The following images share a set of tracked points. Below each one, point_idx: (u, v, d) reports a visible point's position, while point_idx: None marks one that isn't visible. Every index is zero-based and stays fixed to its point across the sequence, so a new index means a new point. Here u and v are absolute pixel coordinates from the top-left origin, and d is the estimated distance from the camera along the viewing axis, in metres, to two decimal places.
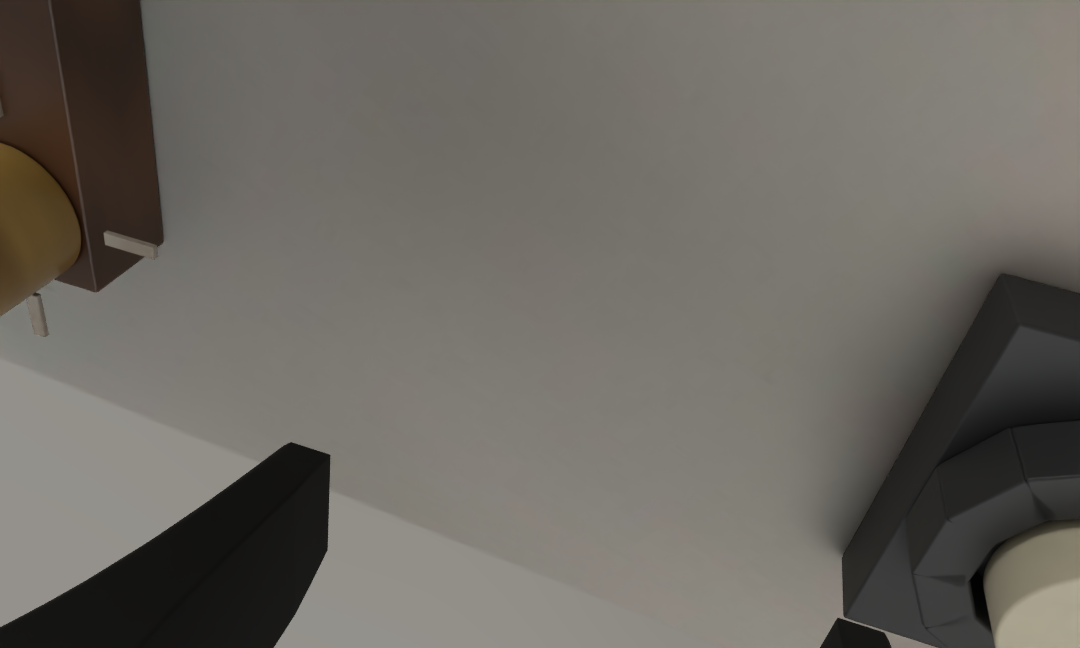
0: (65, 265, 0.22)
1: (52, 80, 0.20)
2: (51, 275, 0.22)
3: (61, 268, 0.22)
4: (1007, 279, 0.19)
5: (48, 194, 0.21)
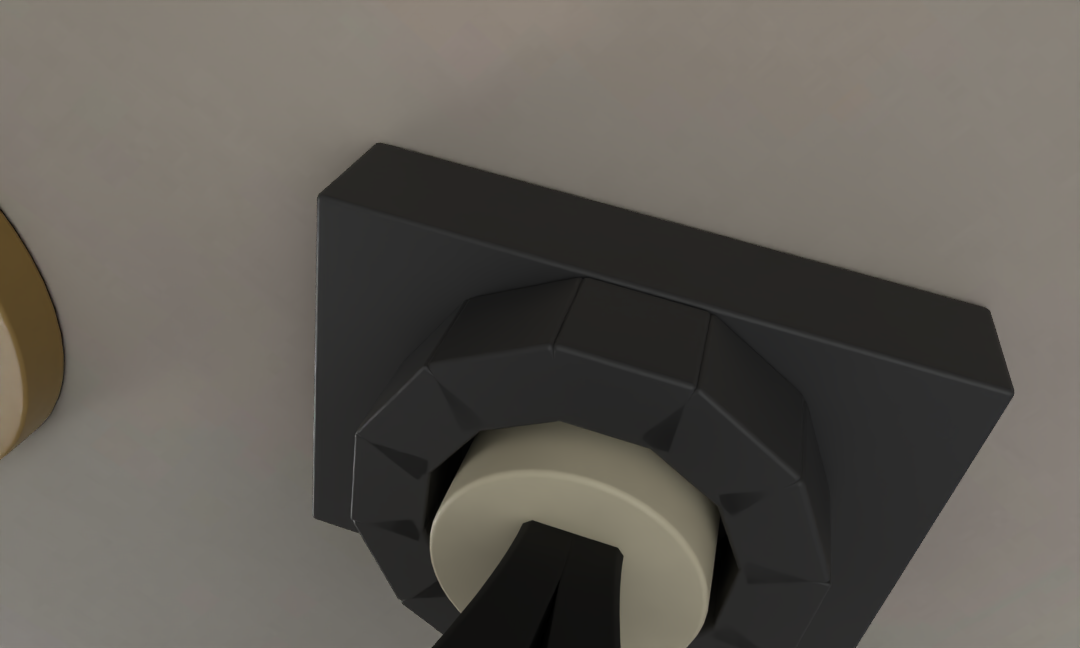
0: None
1: None
2: None
3: None
4: None
5: None
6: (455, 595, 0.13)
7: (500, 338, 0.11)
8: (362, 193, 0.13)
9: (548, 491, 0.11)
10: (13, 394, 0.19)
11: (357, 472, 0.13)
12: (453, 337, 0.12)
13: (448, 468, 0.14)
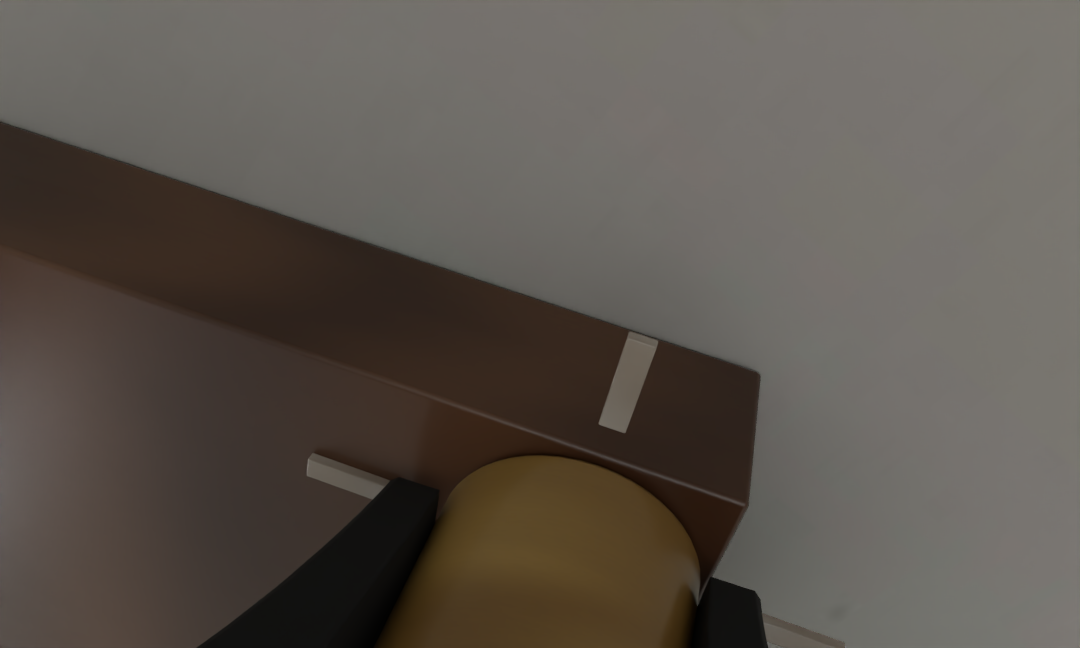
0: (651, 523, 0.11)
1: (327, 376, 0.12)
2: (645, 553, 0.11)
3: (650, 532, 0.11)
4: None
5: (502, 479, 0.11)
6: None
7: None
8: None
9: None
10: None
11: None
12: None
13: None
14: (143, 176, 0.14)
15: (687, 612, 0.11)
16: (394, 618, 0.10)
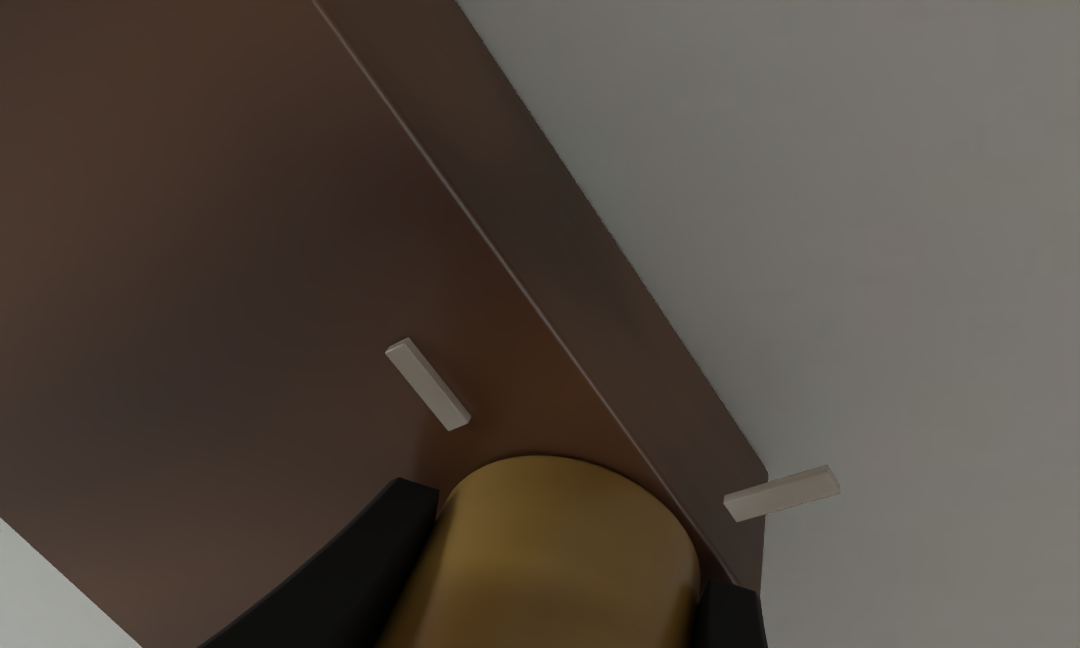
0: (653, 526, 0.11)
1: (508, 298, 0.10)
2: (648, 556, 0.11)
3: (653, 535, 0.11)
4: None
5: (506, 478, 0.11)
6: None
7: None
8: None
9: None
10: None
11: None
12: None
13: None
14: None
15: (688, 615, 0.11)
16: (396, 616, 0.10)
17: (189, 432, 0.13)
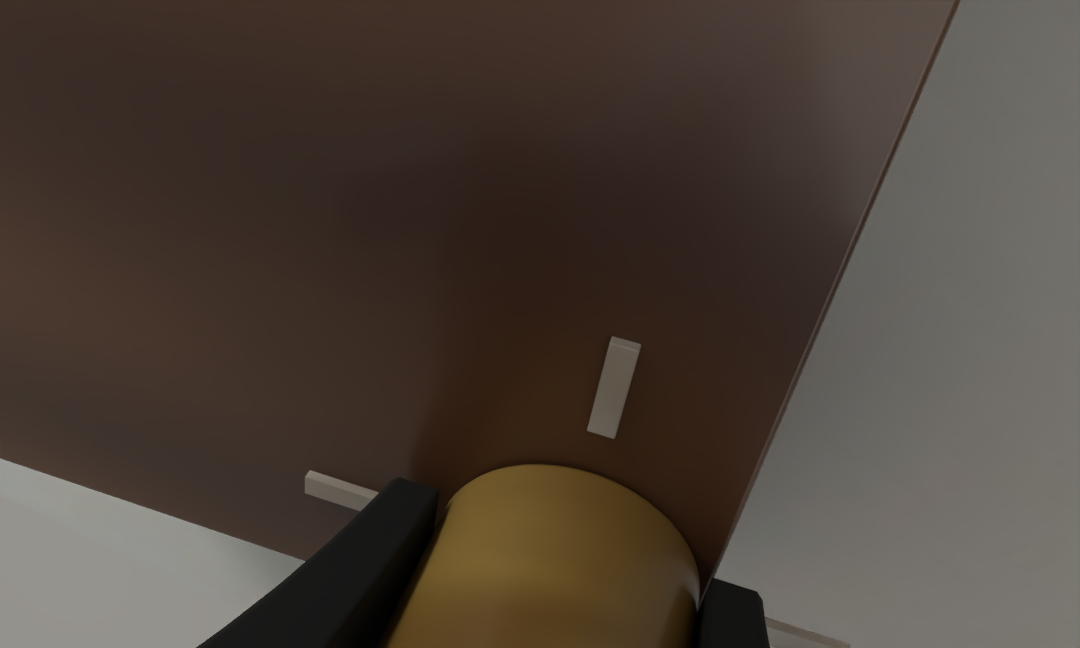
0: (649, 532, 0.11)
1: (769, 390, 0.10)
2: (643, 563, 0.11)
3: (648, 541, 0.11)
4: None
5: (500, 489, 0.11)
6: None
7: None
8: None
9: None
10: None
11: None
12: None
13: None
14: None
15: (686, 622, 0.11)
16: (390, 629, 0.10)
17: (286, 227, 0.11)
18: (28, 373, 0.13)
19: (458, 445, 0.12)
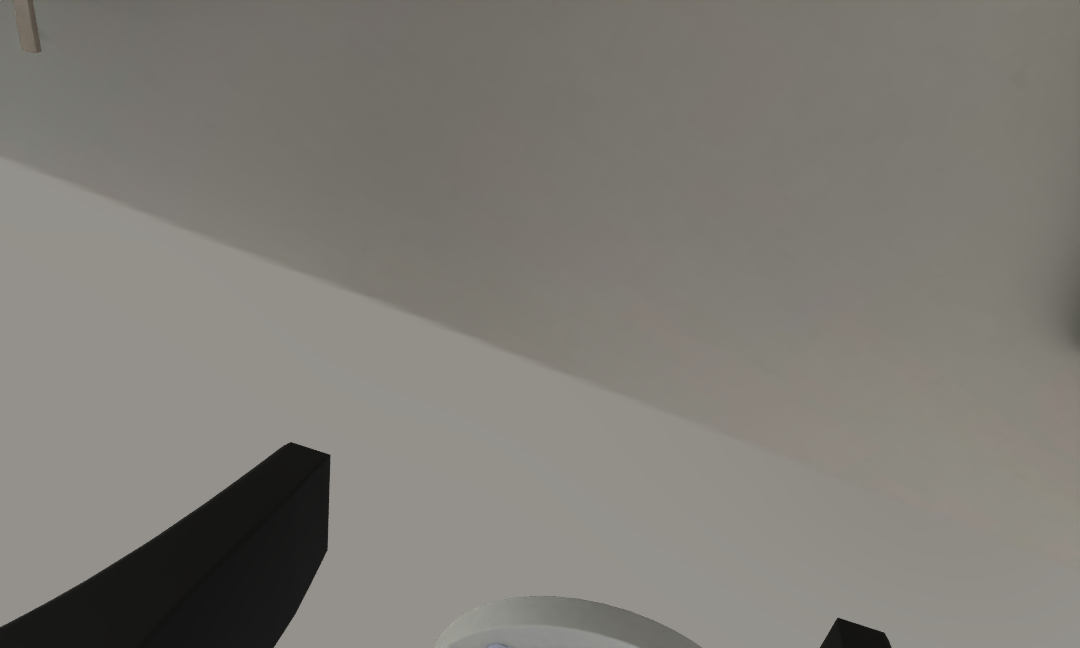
0: None
1: None
2: None
3: None
4: None
5: None
6: None
7: None
8: None
9: None
10: None
11: None
12: None
13: None
14: None
15: None
16: None
17: None
18: None
19: None
